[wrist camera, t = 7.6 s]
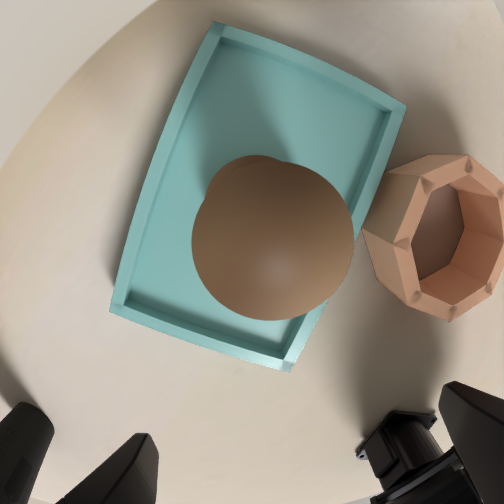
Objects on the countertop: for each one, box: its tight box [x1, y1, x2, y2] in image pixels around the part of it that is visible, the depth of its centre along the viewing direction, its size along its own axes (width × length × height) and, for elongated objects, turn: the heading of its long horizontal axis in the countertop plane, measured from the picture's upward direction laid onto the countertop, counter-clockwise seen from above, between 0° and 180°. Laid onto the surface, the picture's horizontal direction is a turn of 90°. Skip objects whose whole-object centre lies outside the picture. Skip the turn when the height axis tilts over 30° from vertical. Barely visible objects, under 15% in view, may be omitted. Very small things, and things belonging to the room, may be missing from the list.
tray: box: [109, 21, 407, 373], centre depth 18 cm, size 12×18×2 cm, turn 158°
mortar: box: [361, 155, 504, 322], centre depth 17 cm, size 9×9×4 cm
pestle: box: [191, 155, 354, 321], centre depth 13 cm, size 5×5×10 cm
